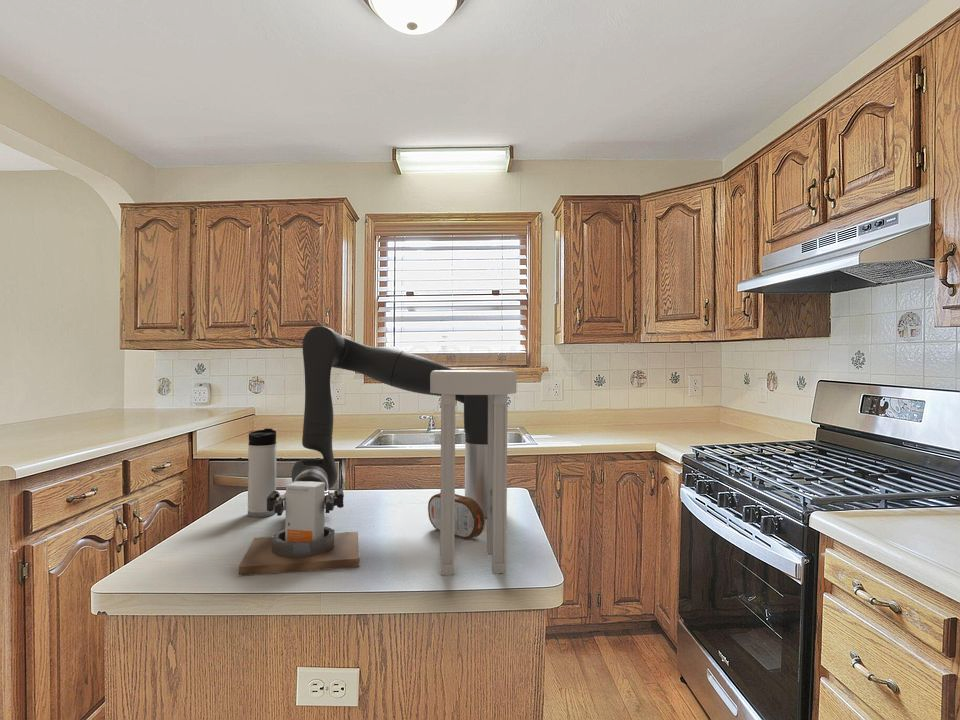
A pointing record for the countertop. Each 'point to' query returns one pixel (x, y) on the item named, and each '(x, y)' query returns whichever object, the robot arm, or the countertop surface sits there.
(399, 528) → the countertop surface
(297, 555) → the ring collar
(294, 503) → the skincare box
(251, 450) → the travel mug
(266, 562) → the walnut base
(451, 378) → the stool
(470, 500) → the tin
